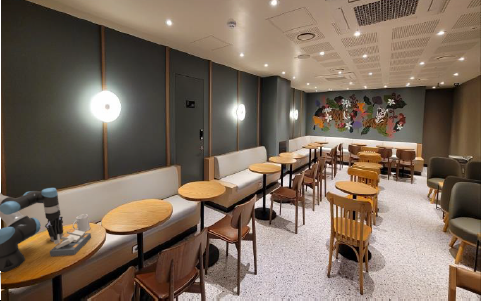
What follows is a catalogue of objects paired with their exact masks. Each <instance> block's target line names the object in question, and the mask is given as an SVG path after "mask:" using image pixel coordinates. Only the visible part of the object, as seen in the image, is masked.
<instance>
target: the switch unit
mask: <svg viewBox="0 0 481 303" xmlns="http://www.w3.org/2000/svg"><path fill="white" fill-rule="evenodd" d="M91 239H92V234H91V233H90V232H89V233H86V232H85V235H83V236H82V237H81V238H80V239H79V240H78V241H77V242H71V243H69V244H67V245H65V246H62V247H60V248H58V249H56V247H55V246H54V247H52V249H51V250H49V256H50V257H62V256H63V257H64V256H75V255H76V254H77V253H78V252H79V251H80V250H81V249H82V248H84V247H85V245H86V244H87V243H88V242H89V241H90V240H91ZM62 241H65V240H62V239H61V240H60V242H62ZM83 246H84V247H83Z"/></svg>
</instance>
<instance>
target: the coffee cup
mask: <svg viewBox="0 0 481 303" xmlns="http://www.w3.org/2000/svg"><path fill="white" fill-rule="evenodd" d="M63 223H64V220H63V219H62V231H60V232H61V233H60V240H62V239H61V237H62V236H63V235H64V226H63ZM47 224H48V222H47V223H45V225H47ZM48 236H49V238H50V241H51V242H54V238H53V236H51V237H50V235H49V234H48Z"/></svg>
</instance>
